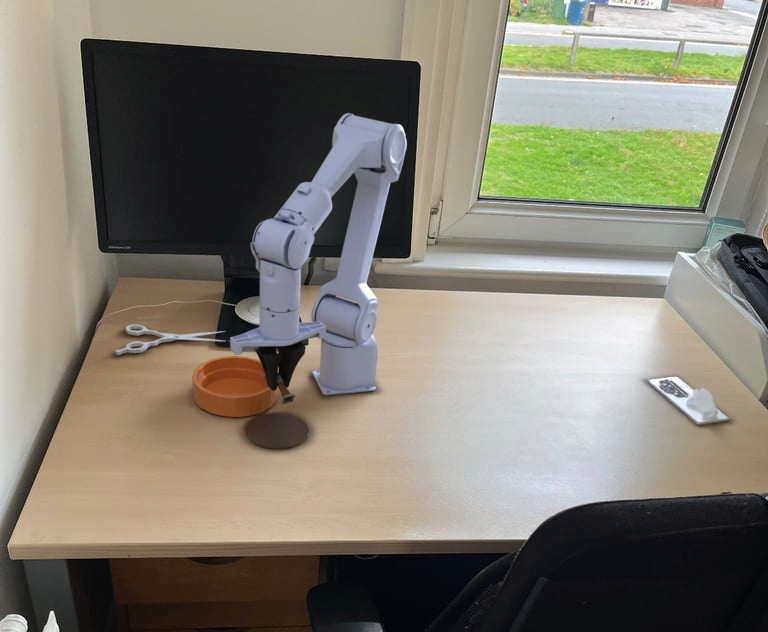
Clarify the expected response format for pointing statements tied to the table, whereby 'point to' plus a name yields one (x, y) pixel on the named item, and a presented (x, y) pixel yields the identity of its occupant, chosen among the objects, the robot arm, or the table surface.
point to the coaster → (276, 431)
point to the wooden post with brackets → (284, 391)
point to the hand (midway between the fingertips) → (278, 386)
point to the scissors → (164, 338)
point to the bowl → (232, 387)
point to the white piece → (689, 400)
